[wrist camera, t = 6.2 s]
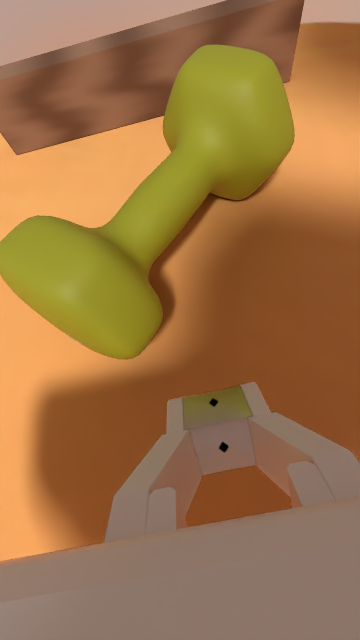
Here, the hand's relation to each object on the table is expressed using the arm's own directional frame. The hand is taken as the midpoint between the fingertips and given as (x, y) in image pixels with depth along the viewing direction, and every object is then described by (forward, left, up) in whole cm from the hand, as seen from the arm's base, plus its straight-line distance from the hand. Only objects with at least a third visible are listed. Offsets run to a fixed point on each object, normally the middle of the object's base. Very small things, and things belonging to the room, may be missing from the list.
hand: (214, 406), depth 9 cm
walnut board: (0, -25, -4) cm, 26 cm away
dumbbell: (0, -11, -5) cm, 12 cm away
